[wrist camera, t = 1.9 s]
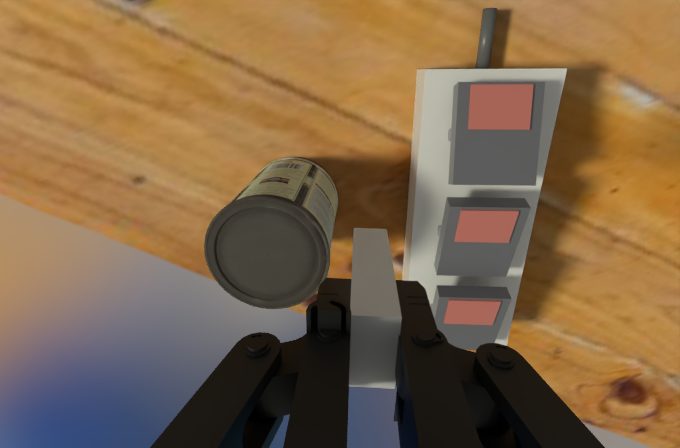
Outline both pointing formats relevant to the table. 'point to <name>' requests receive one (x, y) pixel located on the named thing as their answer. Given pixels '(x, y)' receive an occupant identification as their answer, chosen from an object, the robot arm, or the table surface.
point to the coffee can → (275, 235)
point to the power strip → (434, 189)
